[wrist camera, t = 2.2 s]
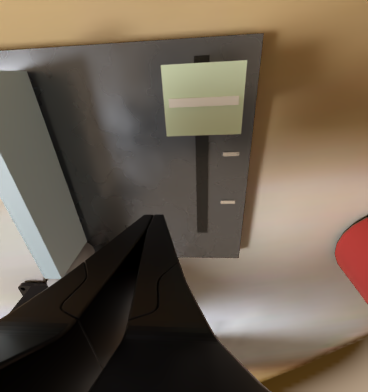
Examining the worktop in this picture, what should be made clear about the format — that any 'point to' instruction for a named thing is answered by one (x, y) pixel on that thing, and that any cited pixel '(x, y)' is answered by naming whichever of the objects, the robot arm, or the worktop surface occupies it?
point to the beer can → (355, 256)
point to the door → (36, 182)
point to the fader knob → (204, 97)
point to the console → (143, 139)
